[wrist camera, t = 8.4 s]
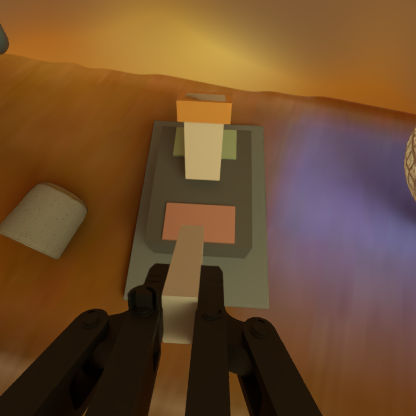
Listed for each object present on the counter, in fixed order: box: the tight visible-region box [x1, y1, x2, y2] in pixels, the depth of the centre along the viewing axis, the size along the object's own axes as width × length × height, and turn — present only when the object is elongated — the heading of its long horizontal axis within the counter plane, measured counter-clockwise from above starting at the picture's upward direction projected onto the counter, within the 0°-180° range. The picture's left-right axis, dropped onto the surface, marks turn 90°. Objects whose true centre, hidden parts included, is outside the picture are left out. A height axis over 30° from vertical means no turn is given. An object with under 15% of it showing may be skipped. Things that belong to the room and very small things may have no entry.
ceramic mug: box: [0, 182, 87, 260], centre depth 33 cm, size 11×8×8 cm
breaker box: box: [123, 121, 269, 309], centre depth 35 cm, size 28×18×8 cm, turn 177°
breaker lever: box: [176, 91, 232, 181], centre depth 28 cm, size 3×5×9 cm, turn 87°
